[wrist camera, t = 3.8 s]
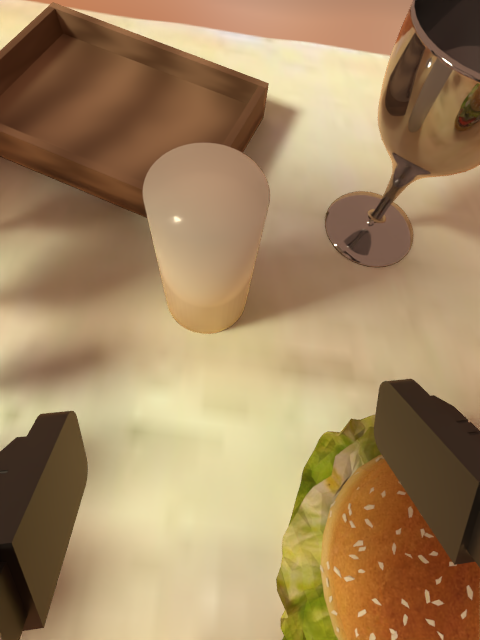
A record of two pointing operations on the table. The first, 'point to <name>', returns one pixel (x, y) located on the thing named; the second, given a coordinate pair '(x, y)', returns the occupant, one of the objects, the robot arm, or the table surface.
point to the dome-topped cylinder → (206, 231)
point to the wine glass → (417, 126)
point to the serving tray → (113, 104)
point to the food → (368, 554)
